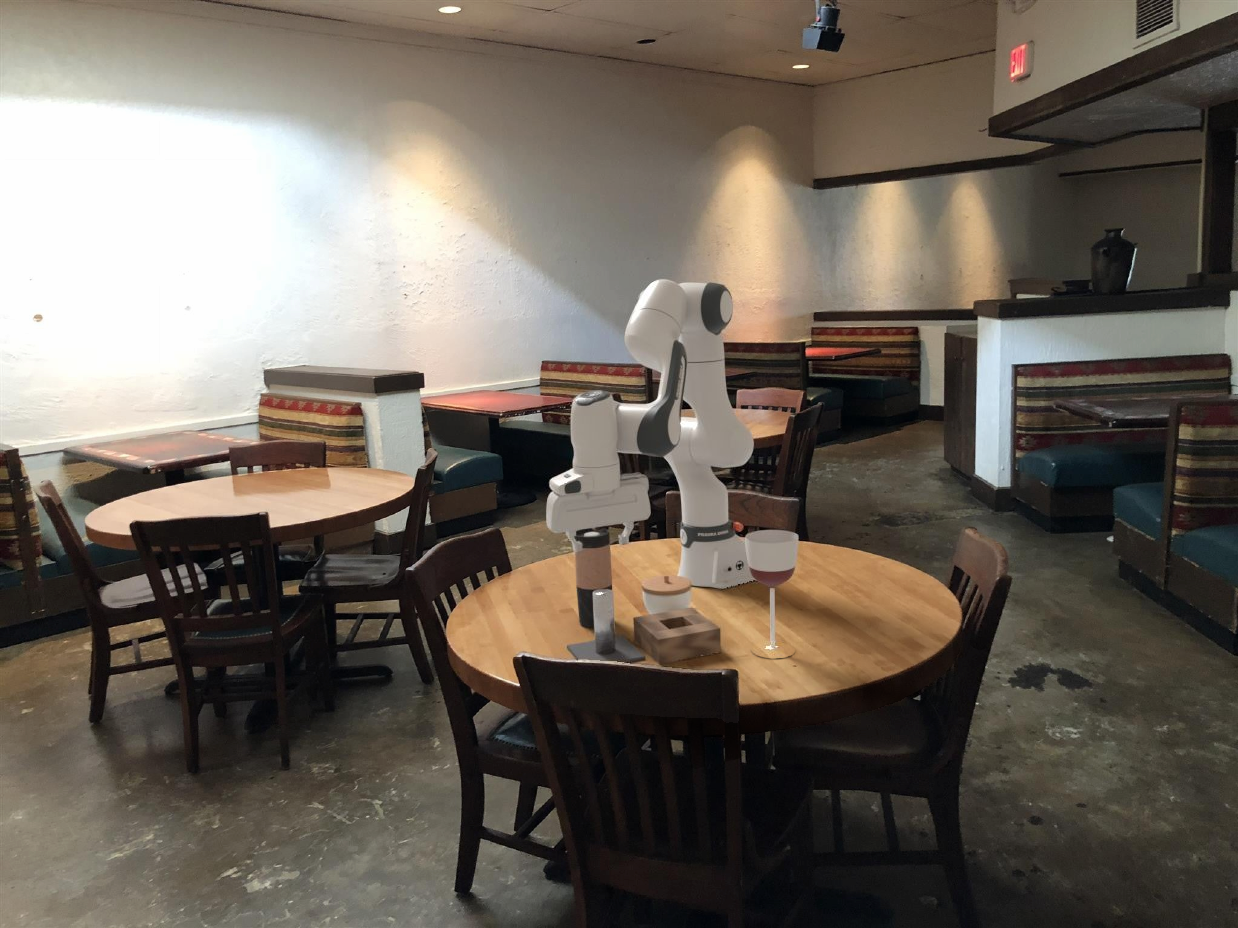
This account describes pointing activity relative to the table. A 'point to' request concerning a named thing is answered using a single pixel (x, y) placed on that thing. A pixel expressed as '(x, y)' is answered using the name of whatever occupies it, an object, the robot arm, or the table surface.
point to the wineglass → (772, 563)
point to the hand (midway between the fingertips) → (601, 547)
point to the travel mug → (592, 570)
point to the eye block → (676, 635)
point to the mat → (622, 654)
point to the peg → (604, 621)
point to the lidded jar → (666, 593)
